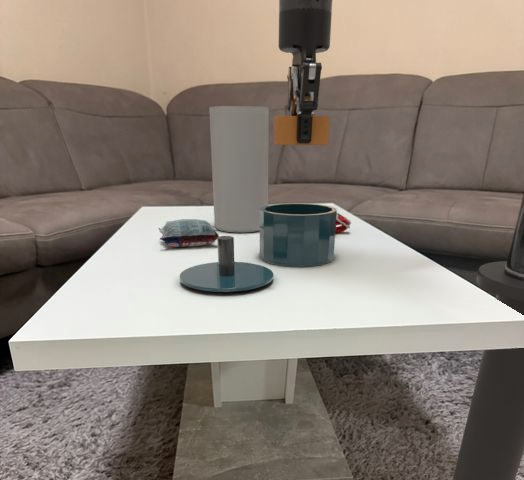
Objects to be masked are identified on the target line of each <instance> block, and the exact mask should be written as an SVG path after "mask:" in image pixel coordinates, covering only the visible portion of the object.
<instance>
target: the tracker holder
mask: <svg viewBox="0 0 524 480" xmlns="http://www.w3.org/2000/svg"><path fill="white" fill-rule="evenodd" d="M351 224H352V222H351V220H350V219H349V218H347V217H346V216H344V215H343V214H341V213H339V212H337V216H336V230H335V234H336V233H337V234H338V233H343V232H345V231H347V230H348V229H350V228H351Z"/></svg>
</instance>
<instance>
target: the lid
mask: <svg viewBox="0 0 524 480" xmlns="http://www.w3.org/2000/svg"><path fill="white" fill-rule="evenodd" d="M216 241H217V260H218V261H216V262H206V263H201V264H197V265H193V266H189V267H188V268H185V269H184V270H183V271H181V272H180V273H179V281H180V283H181V284H182V285H184V286H185V287H188V288H190V289H194V290H198V291H205V292H215V293H232V292H233V293H234V292H242V291H249V290H254V289H258V288H261V287H264V286H266V285H269V284H270V283H271V282H272V281H273V279H274V272H273V270H272V269H270V268H269V267H266V266H264V265H260V264H257V263H251V262H245V261H243V262H242V261H235V237H234V236H233V235H231V236H230V235H219V237H218V238H217V240H216Z"/></svg>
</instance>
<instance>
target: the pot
mask: <svg viewBox="0 0 524 480" xmlns="http://www.w3.org/2000/svg"><path fill="white" fill-rule="evenodd" d="M337 209H338V208H337V207H333V206H331V205H325V204H319V203H309V202H308V203H307V202H305V203H303V202H299V203H298V202H291V203H289V202H288V203H287V202H286V203H285V202H284V203H274V204H268V205H267V206H263V207H261V208H260V231H259V258H260V260H261V261H262V262H265V263H268V264H270V265H274V266H278V267H279V266H280V267H288V268H289V267H290V268H309V267H317V266H322V265H323V266H324V265H326V264H329V263H331V262H332V261H333V260H334V256H335V245H336V244H335V243H336V233H335V230H336V227H337V225H336V216H337V213H338V210H337Z"/></svg>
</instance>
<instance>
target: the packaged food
mask: <svg viewBox="0 0 524 480" xmlns="http://www.w3.org/2000/svg"><path fill="white" fill-rule="evenodd" d="M157 228H158V230H159V233H160V234H162V236H161V237H160V238H159V241H162V242H164V243H165V244H166V245H168V246H169V247H173V248H174V247H178V248H182V247H183V248H184V247H185V248H186V247H187V248H188V247H200V246H206V245H210V244H212V243H214V242H215V241H217V238H218V237H220V235H219V233H218V232H217V231H218V229H217V228H216V227H213V226H212V224H211V223H210V222H208V221H207V220H205V219H198V218H181V219H176V220H169V221H168V220H167V221H166V222H165V224H164V226H162V227H161V228H160V227H157Z"/></svg>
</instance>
